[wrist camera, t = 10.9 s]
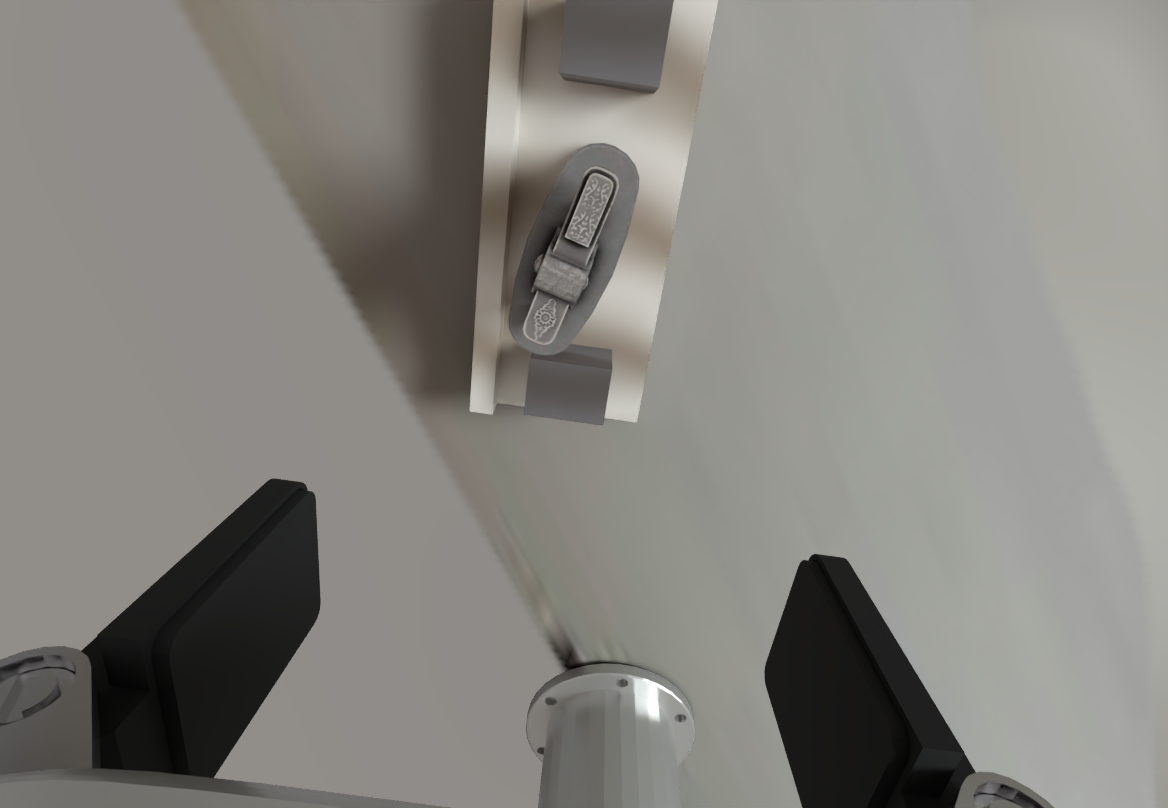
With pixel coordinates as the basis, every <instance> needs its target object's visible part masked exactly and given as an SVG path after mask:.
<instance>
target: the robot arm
mask: <svg viewBox="0 0 1168 808" xmlns="http://www.w3.org/2000/svg"><path fill="white" fill-rule="evenodd" d="M319 610H320V581H319V560H318V539H317V519H316V499H315V495H314V493H313V492H311V491H307V487H306V485H305V484H304V483H302V482H295V481H288V480H281V479H270V480H269V481H267V482H266V483H265V484H264V485H263V486H262V487H261V488H259V489H258V490H257V491H256V492H255V493H254V494H253V495H252V496H251V497H250V498H248V499H247V500H246V501H245V502H244V503H243V504H242V505H241V506H240V507H239V508H237V509H236V510H235V511H234V512H233V513H232V514H231V515H230V516H228V517H227V518H226V519H225V520H224V521H223V522H222V523H221V524H220V525H219V526H217V527H216V528H215V529H214V530H213V531H212V532H211V533H210V534H209V535H207V536H206V537H205V538H204V539H203V540H202V541H201V542H200V543H199V544H198V545H196V546H195V547H194V548H193V549H192V550H191V551H190V552H189V553H188V554H186V555H185V556H184V557H183V558H182V559H181V560H180V561H179V562H178V563H176V564H175V565H174V566H173V567H172V568H171V569H170V570H169V571H168V572H167V573H166V574H164V575H163V576H162V577H161V578H160V579H159V580H158V581H157V582H156V583H154V584H153V585H152V586H151V587H150V588H149V589H148V590H147V591H146V592H144V593H143V594H142V595H141V596H140V597H139V598H138V599H137V600H136V601H134V602H133V603H132V604H131V605H130V606H129V607H128V608H127V609H126V610H125V611H123V612H122V613H121V614H120V615H119V616H118V617H117V618H116V619H115V620H113V621H112V622H111V623H110V624H109V625H108V626H107V627H106V628H105V629H103V630H102V631H101V632H100V633H99V634H98V636H97V637H96V638H95V639H94V640H93V641H92V642H91V643H90V644H88V645H87V646H86V647H85V648H84V649H83V650H82V651H80V650H78V649H74V648H69V647H65V646H56V647H42V648H37V649H33V650H28V651H23V652H20V653H18V654H15V655H12V656H9V657H7V658H4V659H1V660H0V808H447V807H441V806H433V805H425V804H418V803H410V802H402V801H395V800H386V799H379V798H371V797H363V796H355V795H348V794H339V793H332V792H324V791H316V790H309V789H301V788H293V787H285V786H277V785H269V784H261V783H253V782H244V781H234V780H225V779H215V778H214V776H215V775H216V773H217V772H218V770H219V769H220V767H221V765H222V764H223V762H224V761H225V759H226V758H227V756H228V755H229V753H230V751H231V750H232V749H233V747H234V746H235V744H236V743H237V741H238V739H239V738H240V736H241V735H242V733H243V732H244V730H245V729H246V727H247V726H248V724H249V723H250V721H251V720H252V718H253V717H254V715H255V714H256V712H257V710H258V709H259V707H260V706H261V704H262V703H263V701H264V700H265V698H266V697H267V695H268V694H269V692H270V691H271V689H272V688H273V686H274V685H275V683H276V681H277V680H278V678H279V677H280V675H281V674H282V672H283V671H284V669H285V668H286V666H287V665H288V663H289V662H290V660H291V658H292V657H293V656H294V654H295V652H296V651H297V649H298V648H299V646H300V645H301V643H302V642H303V640H304V638H305V637H306V636H307V634H308V633H309V631H310V630H311V628H312V626H313V625H314V623H315V621H316V619H317V617H318V614H319ZM765 684H766V688H767V691H768V694H769V698H770V701H771V704H772V708H773V711H774V714H775V718H776V721H777V724H778V728H779V731H780V734H781V738H782V741H783V744H784V748H785V751H786V754H787V758H788V761H789V764H790V768H791V771H792V774H793V777H794V781H795V784H796V787H797V791H798V794H799V797H800V801H801V804H802V807H803V808H1054V807H1053V806H1052V805H1051V804H1050V803H1049V802H1048V801H1046V800H1045V799H1044V798H1042V797H1041V796H1039V795H1038V794H1037V793H1035V792H1034V791H1033V790H1031V789H1030V788H1028V787H1026V786H1024V785H1023V784H1021V783H1019V782H1017V781H1015V780H1013V779H1011V778H1009V777H1005V776H1002V775H999V774H996V773H992V772H977V773H976V772H975V770H974V769H973V767H972V765H971V764H970V762H969V761H968V759H967V757H966V756H965V754H964V751H963V750H962V748H961V746H960V745H959V743H958V741H957V740H956V738H955V736H954V735H953V733H952V731H951V730H950V728H949V727H948V725H947V723H946V722H945V720H944V718H943V717H942V715H941V713H940V712H939V710H938V708H937V707H936V705H935V703H934V702H933V700H932V699H931V697H930V695H929V694H928V692H927V690H926V689H925V687H924V685H923V684H922V682H921V680H920V679H919V677H918V675H917V674H916V672H915V671H914V669H913V667H912V666H911V664H910V662H909V661H908V659H907V657H906V656H905V654H904V652H903V651H902V649H901V647H900V646H899V644H898V642H897V641H896V639H895V638H894V636H893V634H892V633H891V631H890V629H889V628H888V626H887V624H886V623H885V621H884V619H883V618H882V616H881V614H880V613H879V611H878V610H877V608H876V606H875V605H874V603H873V601H872V600H871V598H870V596H869V595H868V593H867V591H866V590H865V588H864V586H863V585H862V583H861V582H860V580H859V578H858V577H857V575H856V573H855V572H854V570H853V568H852V567H851V565H850V563H849V562H848V561H847V560H846V559H845V558H841V557H833V556H826V555H819V554H814V555H812V556H811V557H810V558H809V561H807V560H803V561H802V562H801V563H800V564H799V567H798V570H797V573H796V576H795V579H794V582H793V585H792V587H791V590H790V593H789V596H788V599H787V602H786V605H785V608H784V611H783V614H782V617H781V620H780V623H779V626H778V629H777V632H776V635H775V638H774V641H773V644H772V647H771V650H770V653H769V656H768V659H767V662H766V665H765ZM526 732H527V739H528V741H529V744H530V746H531V748H532V750H533V752H534V753H535V754H536V756H537V757H538V758H539V759H540V760H541V761H542V762H543V767H542V776H541V786H540V794H539V803H538V808H682V802H681V793H680V783H679V774H678V766H679V765H680V764H681V763H682V762H683V761H684V759H685V758H686V757H687V756H688V754H689V752H690V750H691V748H692V746H693V743H694V737H695V729H694V719H693V715H692V711H691V707H690V705H689V704H688V702H687V700H686V698H685V696H684V695H683V694H682V693H681V692H680V691H679V690H678V689H677V688H676V687H675V686H674V685H673V684H671V683H670V682H668V681H667V680H666V679H664V678H662V677H660V676H658V675H656V674H654V673H652V672H650V671H647V670H644V669H641V668H638V667H634V666H628V665H622V664H594V665H586V666H582V667H578V668H574V669H571V670H569V671H566V672H564V673H562V674H560V675H558V676H556V677H554V678H553V679H552V680H550V681H549V682H547V683H545V684H544V686H543V687H542V688H541V689H540V690H539V691H538V692H537V693H536V695H535V696H534V698H533V700H532V701H531V704H530V707H529V711H528V716H527V725H526Z"/></svg>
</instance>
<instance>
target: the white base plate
mask: <svg viewBox="0 0 1168 808" xmlns="http://www.w3.org/2000/svg"><path fill="white" fill-rule="evenodd" d="M717 4H718V0H494V2H493V19H492V37H491V54H490V71H489V88H488V105H487V122H486V139H485V157H484V174H483V191H482V208H481V225H480V242H479V259H478V277H477V294H476V311H475V328H474V345H473V362H472V379H471V396H470V412H478V413H485V414H493V411H494V409H495V407H496V405H497V403H501V404H508V405H515V406H523V407H524V415H531V416H538V417H546V418H553V419H560V420H567V421H574V422H581V423H588V424H596V425H603V423H604V418H608V419H616V420H623V421H630V422H637V418H638V413H639V408H640V403H641V398H642V393H643V387H644V382H645V377H646V372H647V367H648V361H649V356H650V351H651V346H652V341H653V335H654V330H655V325H656V320H657V315H658V310H659V304H660V299H661V294H662V289H663V284H664V278H665V273H666V268H667V263H668V258H669V253H670V247H671V242H672V237H673V232H674V227H675V221H676V216H677V211H678V206H679V201H680V196H681V190H682V185H683V180H684V175H685V170H686V164H687V159H688V154H689V149H690V144H691V138H692V133H693V128H694V123H695V118H696V113H697V107H698V102H699V97H700V92H701V87H702V81H703V76H704V71H705V66H706V61H707V56H708V50H709V45H710V40H711V35H712V30H713V24H714V19H715V14H716V9H717ZM593 143H607V144H610V145H614V146H616V147H617V148H619V149H620V150H622V151H623V152H625V153H626V154H627V155H628V156H629V157H630V159H631V160H632V161H633V163H634V164H635V165H636V168H637V172H638V175H639V191H638V195H637V199H636V203H635V207H634V211H633V215H632V220H631V224H630V228H629V232H628V235H627V238H626V241H625V243H624V246H623V249H622V251H621V254H620V257H619V260H618V262H617V265H616V268H615V270H614V273H613V276H612V278H611V280H610V281H609V283H608V285H607V287H606V289H605V291H604V293H603V294H602V296H601V298H600V300H599V302H598V304H597V306H596V307H595V309H594V311H593V313H592V315H591V316H590V317H589V319H588V320H587V322H586V323H585V324H584V326H583V327H582V329H581V330H580V332H579V333H578V334H577V336H576V337H575V339H574V340H573V341H572V343H571V344H570V345H569V346H568V347H567V348H566V349H565V350H564V351H562V352H560V353H557V354H554V355H539V354H535V353H531V352H529V351H528V350H526V349H524V348H523V347H521V346H520V345H519V344H518V343H517V342H516V341H515V340H514V338H513V337H512V334H511V332H510V330H509V322H508V318H509V312H510V306H511V300H512V294H513V288H514V282H515V278H516V275H517V271H518V268H519V264H520V261H521V258H522V254H523V251H524V248H525V244H526V241H527V238H528V236H529V234H530V231H531V229H532V227H533V225H534V223H535V220H536V218H537V216H538V214H539V212H540V210H541V207H542V205H543V203H544V201H545V199H546V197H547V195H548V193H549V192H550V190H551V188H552V187H553V185H554V184H555V182H556V180H557V179H558V177H559V175H560V174H561V172H562V171H563V169H564V167H565V166H566V164H567V162H568V161H569V159H570V158H571V156H572V155H573V154H574V153H575V152H576V151H577V150H578V149H580V148H582V147H584V146H586V145H588V144H593Z"/></svg>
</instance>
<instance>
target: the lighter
mask: <svg viewBox="0 0 1168 808" xmlns="http://www.w3.org/2000/svg"><path fill="white" fill-rule="evenodd" d="M638 191H639V175H638V172H637V168H636V165H635V164H634V163H633V161H632V160H631V159H630V157H629V156H628V155H627V154H626V153H625V152H623V151H622V150H620V149H619V148H617V147H616V146H614V145H610V144H607V143H593V144H588V145H586V146H584V147H582V148H580V149H578V150H577V151H576V152H575V153H574V154H573V155H572V156H571V158H570V159H569V161H568V162H567V164H566V166H565V167H564V169H563V171H562V172H561V174H560V175H559V177H558V179H557V180H556V182H555V184H554V185H553V187H552V188H551V190H550V192H549V193H548V195H547V197H546V199H545V201H544V203H543V205H542V207H541V210H540V212H539V214H538V216H537V218H536V220H535V223H534V225H533V227H532V229H531V231H530V234H529V236H528V238H527V241H526V244H525V248H524V251H523V254H522V258H521V261H520V264H519V268H518V271H517V275H516V278H515V282H514V288H513V294H512V300H511V306H510V312H509V318H508V322H509V330H510V332H511V334H512V337H513V338H514V340H515V341H516V342H517V343H518V344H519V345H520V346H521V347H523V348H524V349H526V350H528V351H529V352H531V353H535V354H539V355H554V354H557V353H560V352H562V351H564V350H565V349H566V348H567V347H568V346H569V345H570V344H571V343H572V341H573V340H574V339H575V337H576V336H577V334H578V333H579V332H580V330H581V329H582V327H583V326H584V324H585V323H586V322H587V320H588V319H589V317H590V316H591V315H592V313H593V311H594V309H595V307H596V306H597V304H598V302H599V300H600V298H601V296H602V294H603V293H604V291H605V289H606V287H607V285H608V283H609V281H610V280H611V278H612V276H613V273H614V270H615V268H616V265H617V262H618V260H619V257H620V254H621V251H622V249H623V246H624V243H625V241H626V238H627V235H628V232H629V228H630V224H631V220H632V215H633V211H634V207H635V203H636V199H637V195H638Z"/></svg>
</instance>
